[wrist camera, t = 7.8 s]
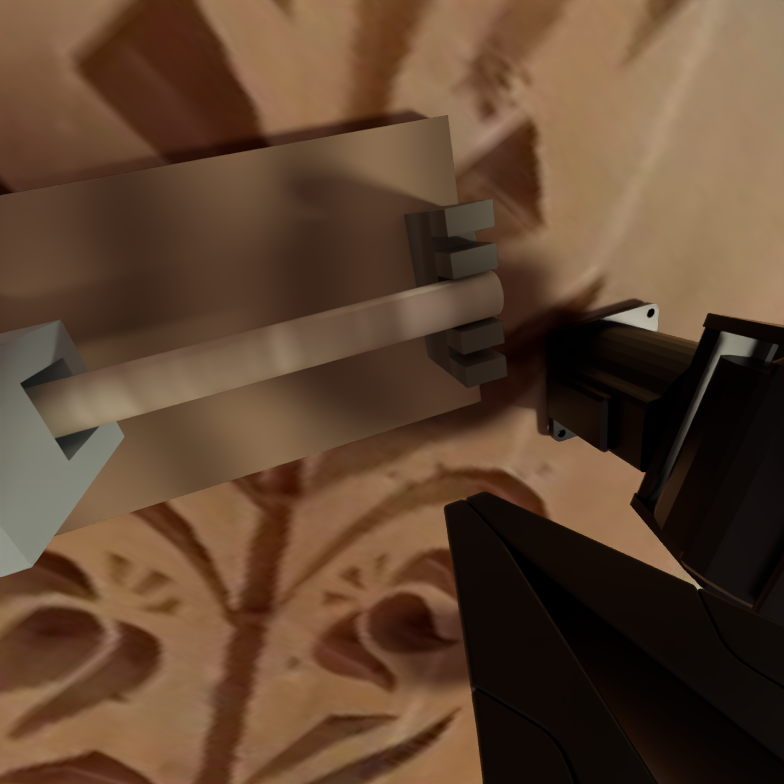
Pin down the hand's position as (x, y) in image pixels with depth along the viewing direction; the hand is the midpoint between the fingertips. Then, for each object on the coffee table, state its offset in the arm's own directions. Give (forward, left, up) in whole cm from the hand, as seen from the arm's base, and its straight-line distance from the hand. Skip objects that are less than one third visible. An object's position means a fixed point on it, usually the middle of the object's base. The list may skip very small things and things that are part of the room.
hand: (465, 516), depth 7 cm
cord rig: (+7, -2, -12) cm, 14 cm away
